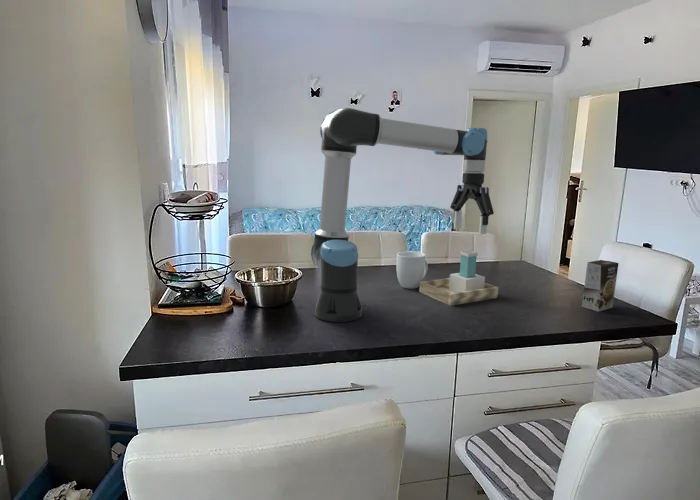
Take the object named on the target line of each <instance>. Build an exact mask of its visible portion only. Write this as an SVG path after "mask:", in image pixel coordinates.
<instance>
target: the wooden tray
mask: <svg viewBox="0 0 700 500" xmlns="http://www.w3.org/2000/svg"><path fill="white" fill-rule="evenodd" d="M449 283H450V277H446V278H439V279H429V280H422V281H421V282H420V285H419V293H421V294H422V295H426V296H427V297H430V298H432V299H434V300H436V301H439V302H441V303H443V304H445V305H447V306H450V307H451V306H456V305H462V304H469V303H474V302H480V301H486V300H491V299H497V298H499V297H498V295H499V286H496V285H494V284H490V283H487V282H485V284H484V289H477V290H471V291H464V292H458V293H457V292H455V291H452V290H450V289H449Z"/></svg>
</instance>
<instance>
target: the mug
mask: <svg viewBox="0 0 700 500" xmlns="http://www.w3.org/2000/svg"><path fill="white" fill-rule="evenodd" d="M395 267H396V277H397V282H399V285H400V287H402V288H403V289H411V290H414V289H417V288H420V282H422V281H423V279H424V278H425V276H426V275H427V273H428V269H429V267H428V262H427V260H426V254H425V253H423V252H419V251H399V252H397V254H396V266H395Z"/></svg>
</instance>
